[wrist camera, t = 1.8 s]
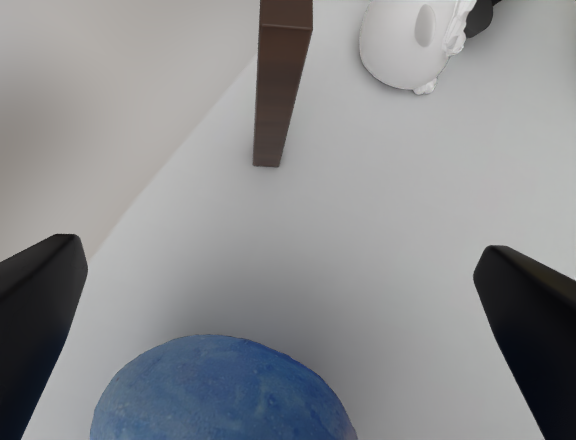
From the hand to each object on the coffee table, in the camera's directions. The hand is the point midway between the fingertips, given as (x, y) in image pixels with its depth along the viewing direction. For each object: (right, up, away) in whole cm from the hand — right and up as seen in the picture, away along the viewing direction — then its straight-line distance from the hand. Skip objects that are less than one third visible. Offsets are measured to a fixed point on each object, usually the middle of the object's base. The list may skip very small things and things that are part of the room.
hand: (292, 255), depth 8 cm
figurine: (+8, +12, +17) cm, 23 cm away
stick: (-1, +5, +15) cm, 15 cm away
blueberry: (-1, -11, +12) cm, 16 cm away
